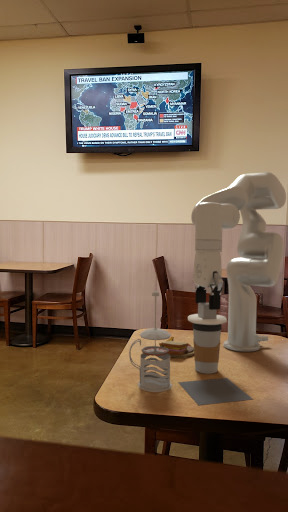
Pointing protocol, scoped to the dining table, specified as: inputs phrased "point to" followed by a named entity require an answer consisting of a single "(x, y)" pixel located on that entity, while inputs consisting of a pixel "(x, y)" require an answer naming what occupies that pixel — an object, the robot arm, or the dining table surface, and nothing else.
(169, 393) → the dining table surface
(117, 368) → the dining table surface
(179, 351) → the toy sandwich meal
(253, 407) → the dining table surface
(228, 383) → the mat
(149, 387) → the french press
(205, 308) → the lid
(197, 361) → the coffee cup
